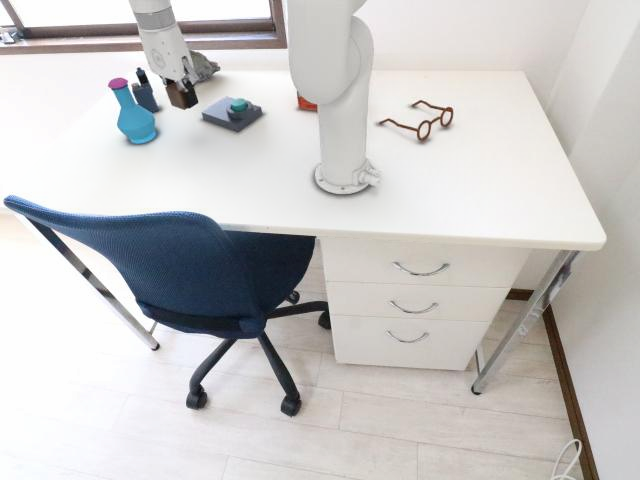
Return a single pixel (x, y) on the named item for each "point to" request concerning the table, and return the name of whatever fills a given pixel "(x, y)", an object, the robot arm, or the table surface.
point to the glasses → (448, 109)
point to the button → (238, 104)
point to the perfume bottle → (132, 114)
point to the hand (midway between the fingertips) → (185, 102)
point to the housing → (231, 114)
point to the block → (176, 95)
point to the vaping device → (144, 92)
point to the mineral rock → (203, 66)
